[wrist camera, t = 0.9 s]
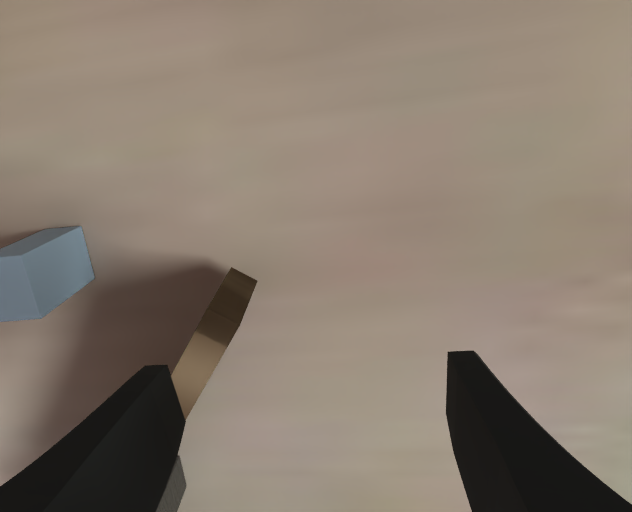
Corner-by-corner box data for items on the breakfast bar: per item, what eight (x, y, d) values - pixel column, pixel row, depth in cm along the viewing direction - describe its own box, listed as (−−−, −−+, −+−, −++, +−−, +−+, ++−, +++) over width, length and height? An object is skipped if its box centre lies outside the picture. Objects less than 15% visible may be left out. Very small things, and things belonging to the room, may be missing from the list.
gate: (152, 470, 28) (115, 549, 23) (125, 458, 28) (81, 535, 23) (260, 281, 24) (242, 328, 19) (229, 265, 24) (203, 308, 19)
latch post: (94, 278, 25) (41, 318, 21) (59, 281, 25) (-2, 321, 21) (81, 225, 24) (21, 255, 20) (44, 229, 25) (-24, 259, 20)
